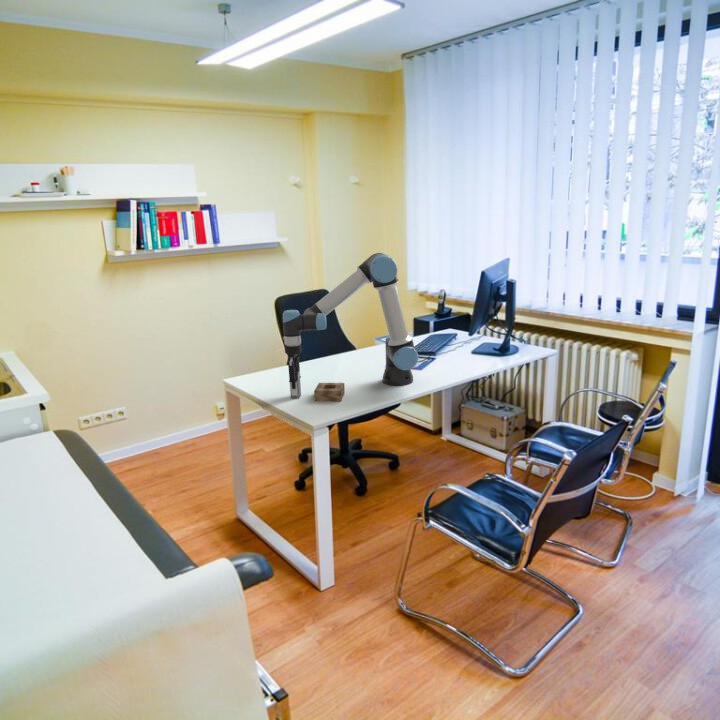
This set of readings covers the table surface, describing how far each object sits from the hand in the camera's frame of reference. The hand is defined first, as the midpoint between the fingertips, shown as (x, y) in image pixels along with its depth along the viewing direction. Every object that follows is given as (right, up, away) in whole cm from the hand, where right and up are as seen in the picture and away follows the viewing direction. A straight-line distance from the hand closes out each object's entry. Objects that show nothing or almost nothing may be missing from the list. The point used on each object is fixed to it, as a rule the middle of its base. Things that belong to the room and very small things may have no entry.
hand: (295, 393), depth 271 cm
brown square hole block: (+16, -2, -1) cm, 16 cm away
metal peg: (0, -2, 0) cm, 2 cm away
